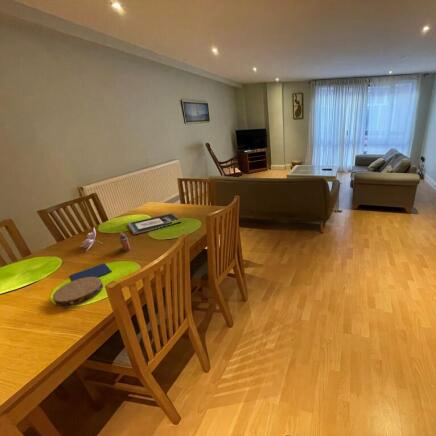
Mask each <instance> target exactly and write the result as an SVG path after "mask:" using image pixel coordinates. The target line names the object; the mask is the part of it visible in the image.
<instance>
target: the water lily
mask: <svg viewBox="0 0 436 436" xmlns="http://www.w3.org/2000/svg"><path fill="white" fill-rule="evenodd" d="M92 229H93V230H92V231H90V232H89V233H87V234H86V237H87V238H86V239H85V240H83V241H82V242H81V245H80V247H84V249H85V252H87V251H89V249H90V248H91V247H92V246H93V244H94V242H96V243H98V244H100V245H103V243H102V242H101V241H98V240H96V237H97V231H96V229H95V227H93V228H92Z"/></svg>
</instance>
